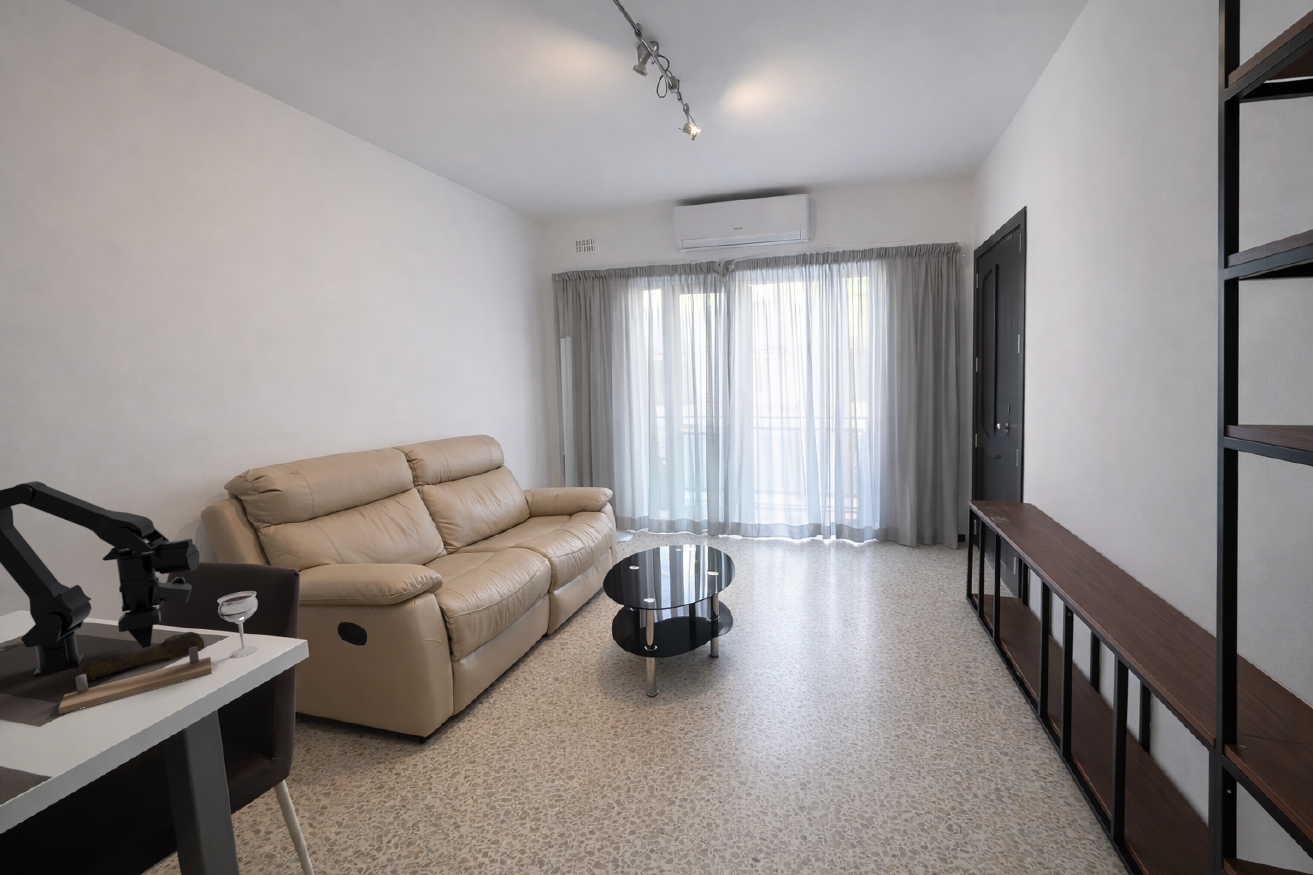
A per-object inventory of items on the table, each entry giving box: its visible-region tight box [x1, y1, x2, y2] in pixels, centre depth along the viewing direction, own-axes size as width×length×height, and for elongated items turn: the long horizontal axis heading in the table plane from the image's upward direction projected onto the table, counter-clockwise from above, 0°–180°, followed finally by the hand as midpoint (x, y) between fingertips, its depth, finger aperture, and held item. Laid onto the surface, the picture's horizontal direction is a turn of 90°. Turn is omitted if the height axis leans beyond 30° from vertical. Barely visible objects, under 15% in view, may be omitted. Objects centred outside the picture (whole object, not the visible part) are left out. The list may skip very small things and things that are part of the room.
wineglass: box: [216, 590, 259, 659], centre depth 122 cm, size 7×7×12 cm
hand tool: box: [78, 631, 205, 682], centre depth 118 cm, size 19×4×5 cm, turn 130°
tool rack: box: [58, 646, 212, 715], centre depth 109 cm, size 6×21×4 cm, turn 128°
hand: (147, 647), depth 124 cm, fingers closed
